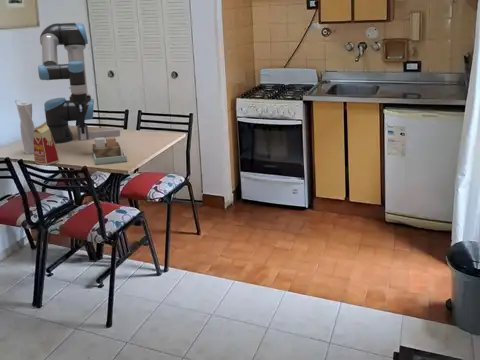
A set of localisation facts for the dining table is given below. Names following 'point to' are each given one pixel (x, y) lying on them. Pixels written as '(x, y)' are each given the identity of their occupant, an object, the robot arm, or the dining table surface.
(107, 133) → the scraper
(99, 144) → the tile white
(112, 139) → the tile terracotta
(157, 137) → the dining table surface
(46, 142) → the milk carton
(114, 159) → the tray
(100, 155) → the board
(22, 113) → the skyscraper
